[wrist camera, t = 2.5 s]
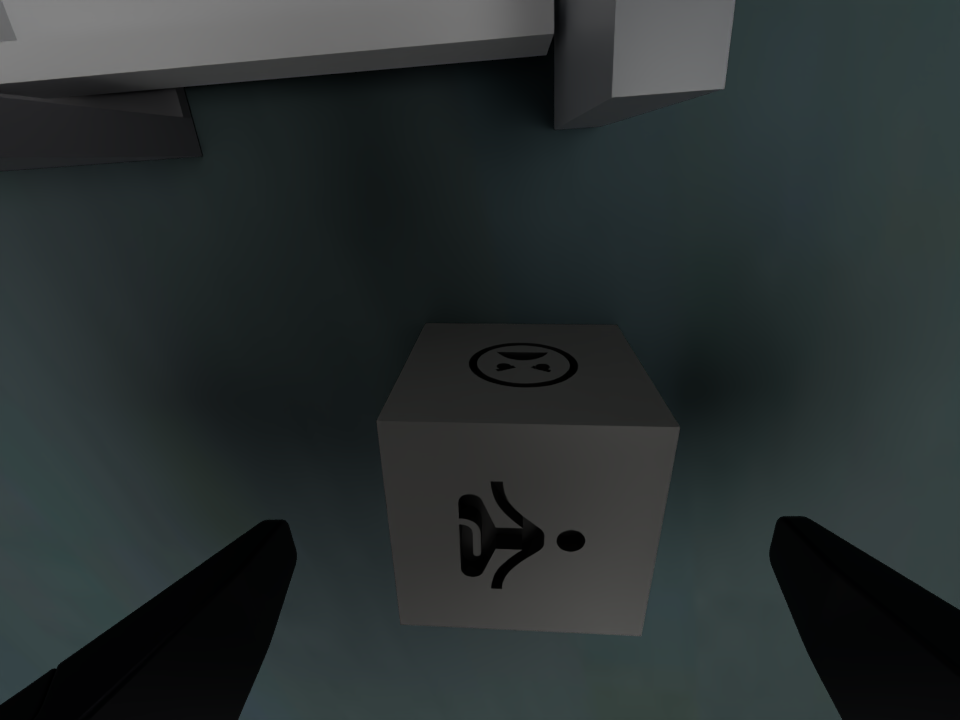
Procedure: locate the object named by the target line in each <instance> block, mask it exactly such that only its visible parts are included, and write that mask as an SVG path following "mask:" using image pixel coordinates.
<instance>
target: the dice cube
mask: <svg viewBox="0 0 960 720" xmlns="http://www.w3.org/2000/svg"><path fill="white" fill-rule="evenodd" d="M376 422H377V431H378V439H379V448H380V456H381V464H382V473H383V481H384V490H385V498H386V506H387V515H388V523H389V532H390V540H391V549H392V557H393V565H394V574H395V582H396V591H397V599H398V608H399V616H400V624H401V625H420V626H441V627H462V628H483V629H504V630H525V631H546V632H567V633H587V634H608V635H629V636H641V635H642V629H643V624H644V619H645V613H646V608H647V603H648V597H649V592H650V587H651V581H652V576H653V571H654V565H655V560H656V555H657V549H658V544H659V538H660V533H661V528H662V522H663V517H664V512H665V506H666V501H667V496H668V490H669V485H670V480H671V474H672V469H673V463H674V458H675V453H676V447H677V442H678V437H679V431H680V426H679V424H678V423H677V421H676V420H675V418H674V416H673V415H672V413H671V411H670V410H669V408H668V407H667V405H666V403H665V402H664V400H663V398H662V397H661V395H660V394H659V392H658V390H657V389H656V387H655V385H654V384H653V382H652V381H651V379H650V377H649V376H648V374H647V372H646V371H645V369H644V368H643V366H642V364H641V363H640V361H639V360H638V358H637V356H636V355H635V353H634V351H633V350H632V348H631V347H630V345H629V343H628V342H627V340H626V338H625V337H624V335H623V334H622V332H621V330H620V329H619V327H618V325H593V324H475V323H425V325H424V327H423V329H422V331H421V333H420V335H419V337H418V339H417V341H416V343H415V345H414V347H413V349H412V351H411V353H410V355H409V357H408V359H407V361H406V363H405V365H404V367H403V369H402V371H401V373H400V375H399V377H398V379H397V381H396V383H395V385H394V387H393V389H392V391H391V393H390V395H389V397H388V399H387V401H386V403H385V405H384V407H383V409H382V411H381V413H380V415H379V417H378V419H377V421H376Z"/></svg>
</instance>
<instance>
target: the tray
mask: <svg viewBox="0 0 960 720" xmlns="http://www.w3.org/2000/svg"><path fill="white" fill-rule="evenodd" d="M734 8H735V0H0V93H1V94H9V95H17V96H26V97H34V98H43V99H51V98H62V97H73V96H85V95H96V94H108V93H119V92H131V91H142V90H154V89H165V88H177V87H188V86H200V85H211V84H222V83H234V82H245V81H257V80H268V79H280V78H291V77H303V76H314V75H326V74H337V73H348V72H360V71H371V70H383V69H394V68H406V67H417V66H429V65H440V64H452V63H463V62H475V61H486V60H497V59H509V58H520V57H532V56H543V55H547V52H548V49H549V46H550V43H551V41H552V38H553V35H554V130H561V129H575V128H588V127H601V126H605V125H608V124H611V123H614V122H618V121H621V120H624V119H627V118H631V117H634V116H637V115H640V114H644V113H647V112H650V111H653V110H657V109H660V108H663V107H666V106H670V105H673V104H676V103H679V102H683V101H686V100H689V99H692V98H696V97H699V96H702V95H705V94H709V93H712V92H715V91H718V90H722V89H724V88H725V80H726V72H727V64H728V56H729V48H730V40H731V32H732V24H733V16H734Z"/></svg>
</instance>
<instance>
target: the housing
mask: <svg viewBox="0 0 960 720" xmlns="http://www.w3.org/2000/svg"><path fill="white" fill-rule="evenodd" d="M201 156H202V153H201V150H200V146H199V142H198V139H197V135H196V132H195V128H194V124H193V121H192V117H191V114H190V110H189V106H188V103H187V99H186V95H185V92H184V88H183V87H177V88H165V89H154V90H142V91H131V92H119V93H108V94H96V95H85V96H73V97H62V98H51V99H43V98H34V97H26V96H17V95H9V94H1V93H0V171H12V170H26V169H39V168H53V167H66V166H80V165H93V164H107V163H120V162H134V161H147V160H161V159H174V158H188V157H201Z"/></svg>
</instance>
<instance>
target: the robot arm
mask: <svg viewBox="0 0 960 720" xmlns="http://www.w3.org/2000/svg"><path fill="white" fill-rule="evenodd" d="M769 557H770V562H771V565H772V568H773V571H774V573H775V575H776V578H777V580H778V583H779V585H780V588H781V590H782V593H783V595H784V597H785V600H786V602H787V605H788V607H789V610H790V612H791V614H792V617H793V619H794V622H795V624H796V627H797V629H798V632H799V634H800V636H801V639H802V641H803V643H804V646H805V648H806V650H807V652H808V655H809V657H810V659H811V661H812V663H813V665H814V667H815V669H816V671H817V673H818V674H819V676H820V678H821V680H822V682H823V684H824V686H825V688H826V690H827V691H828V693H829V695H830V697H831V699H832V701H833V703H834V705H835V707H836V709H837V710H838V712H839V714H840V716H841V718H842V720H960V610H959V609H957V608H956V607H954V606H952V605H951V604H949V603H947V602H946V601H944V600H942V599H941V598H939V597H938V596H936V595H934V594H933V593H931V592H929V591H928V590H926V589H924V588H923V587H921V586H919V585H918V584H916V583H914V582H913V581H911V580H910V579H908V578H906V577H905V576H903V575H901V574H900V573H898V572H896V571H895V570H893V569H891V568H890V567H888V566H886V565H885V564H883V563H882V562H880V561H878V560H877V559H875V558H873V557H872V556H870V555H868V554H867V553H865V552H863V551H862V550H860V549H859V548H857V547H855V546H854V545H852V544H850V543H849V542H847V541H845V540H844V539H842V538H840V537H839V536H837V535H835V534H834V533H832V532H831V531H829V530H827V529H826V528H824V527H822V526H821V525H819V524H817V523H816V522H814V521H812V520H811V519H809V518H807V517H803V516H783V517H780V518H779V519H778V520H777V522H776V525H775V530H774V534H773V538H772V542H771V546H770V551H769ZM296 560H297V552H296V548H295V544H294V541H293V538H292V534H291V531H290V527H289V525H288V523H287V522H286V521H285V520H264V521H262V522H260V523H259V524H257V525H256V526H254V527H253V528H252V529H250V530H249V531H247V532H246V533H245V534H243V535H242V536H240V537H239V538H237V539H236V540H235V541H233V542H232V543H230V544H229V545H228V546H226V547H225V548H223V549H222V550H220V551H219V552H218V553H216V554H215V555H213V556H212V557H210V558H209V559H208V560H206V561H205V562H203V563H202V564H201V565H199V566H198V567H196V568H195V569H193V570H192V571H191V572H189V573H188V574H186V575H185V576H184V577H182V578H181V579H179V580H178V581H176V582H175V583H174V584H172V585H171V586H169V587H168V588H166V589H165V590H164V591H162V592H161V593H159V594H158V595H157V596H155V597H154V598H152V599H151V600H149V601H148V602H147V603H145V604H144V605H142V606H141V607H139V608H138V609H137V610H135V611H134V612H132V613H131V614H130V615H128V616H127V617H125V618H124V619H122V620H121V621H120V622H118V623H117V624H115V625H114V626H112V627H111V628H110V629H108V630H107V631H105V632H104V633H103V634H101V635H100V636H98V637H97V638H95V639H94V640H93V641H91V642H90V643H88V644H87V645H85V646H84V647H83V648H81V649H80V650H78V651H77V652H76V653H74V654H73V655H71V656H70V657H68V658H67V659H66V660H64V661H63V662H61V663H60V664H59V665H58V667H57V669H55V668H54V669H51V670H50V671H48V672H47V673H46V674H44V675H43V676H41V677H40V678H38V679H37V680H36V681H34V682H33V683H31V684H30V685H29V686H27V687H26V688H24V689H23V690H21V691H20V692H18V693H17V694H16V695H14V696H13V697H11V698H10V699H8V700H7V701H5V702H4V703H2V704H1V705H0V720H238V719H239V716H240V714H241V712H242V709H243V707H244V705H245V702H246V700H247V698H248V695H249V693H250V691H251V688H252V686H253V684H254V681H255V679H256V677H257V674H258V672H259V670H260V667H261V665H262V663H263V660H264V658H265V655H266V653H267V650H268V648H269V645H270V643H271V640H272V637H273V634H274V631H275V628H276V625H277V622H278V618H279V615H280V612H281V609H282V606H283V603H284V600H285V596H286V593H287V590H288V587H289V584H290V581H291V578H292V574H293V571H294V568H295V565H296Z"/></svg>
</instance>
